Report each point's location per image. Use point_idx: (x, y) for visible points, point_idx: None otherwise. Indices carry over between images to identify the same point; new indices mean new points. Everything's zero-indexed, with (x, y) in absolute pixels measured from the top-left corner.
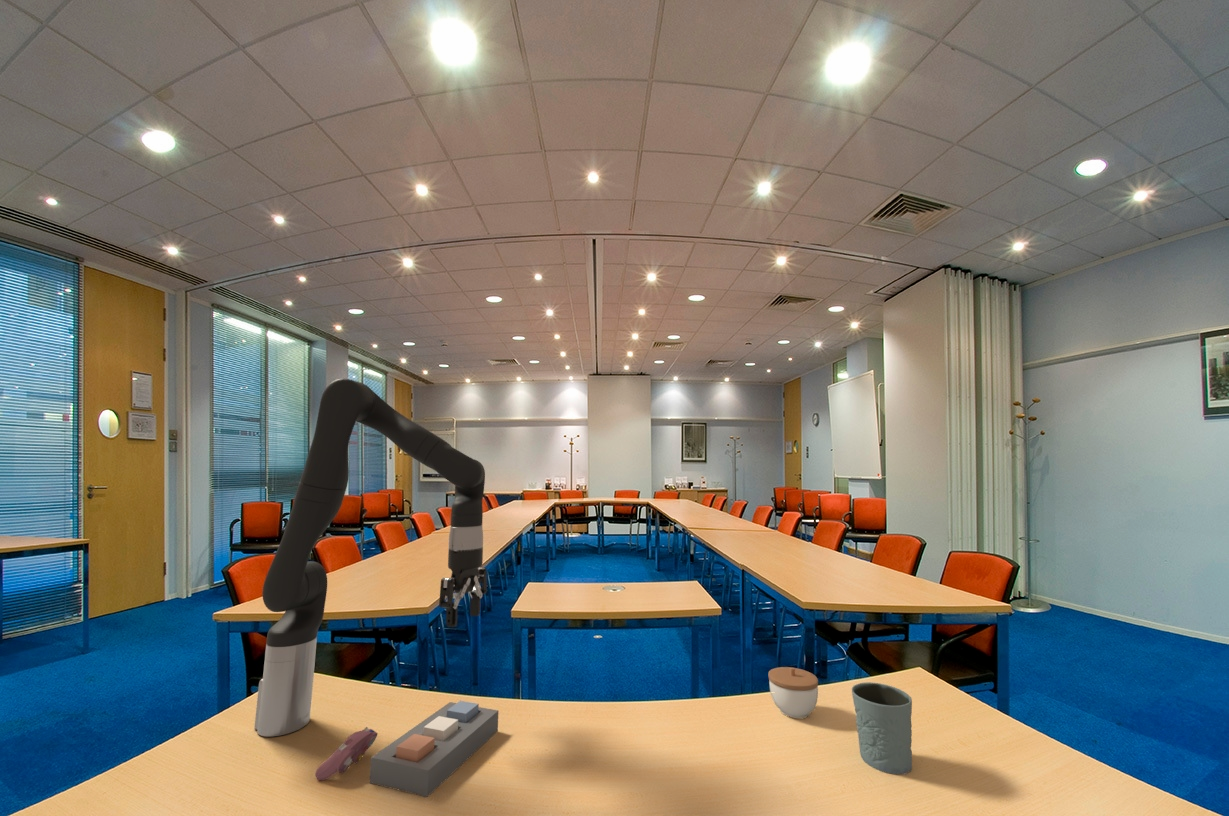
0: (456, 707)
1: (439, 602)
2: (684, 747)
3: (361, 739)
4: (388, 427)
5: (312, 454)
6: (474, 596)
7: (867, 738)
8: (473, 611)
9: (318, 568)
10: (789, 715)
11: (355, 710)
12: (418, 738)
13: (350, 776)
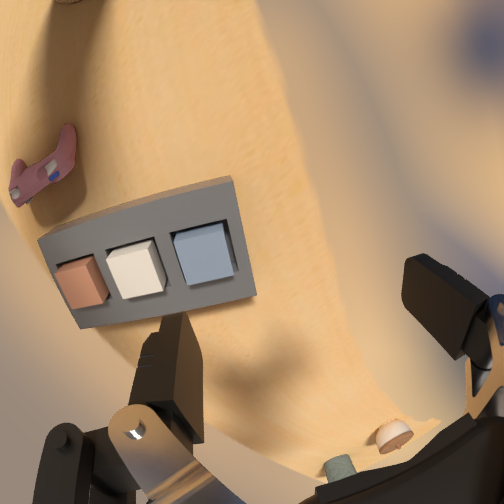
0: (194, 249)
1: (42, 456)
2: (313, 419)
3: (32, 196)
4: None
5: None
6: (481, 339)
7: (331, 472)
8: (417, 288)
9: None
10: (379, 428)
11: None
12: (84, 283)
13: (45, 191)
